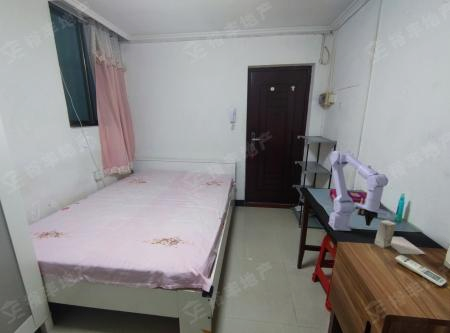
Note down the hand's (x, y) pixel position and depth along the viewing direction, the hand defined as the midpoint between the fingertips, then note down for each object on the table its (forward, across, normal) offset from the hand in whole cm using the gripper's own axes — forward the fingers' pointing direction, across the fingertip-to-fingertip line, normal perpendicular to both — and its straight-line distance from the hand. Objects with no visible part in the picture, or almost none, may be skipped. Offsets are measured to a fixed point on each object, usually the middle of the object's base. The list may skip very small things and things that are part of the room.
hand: (368, 224), depth 106 cm
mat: (+10, -13, -13) cm, 21 cm away
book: (+11, +22, -53) cm, 59 cm away
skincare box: (+11, -6, -6) cm, 14 cm away
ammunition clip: (+11, +8, -37) cm, 40 cm away
